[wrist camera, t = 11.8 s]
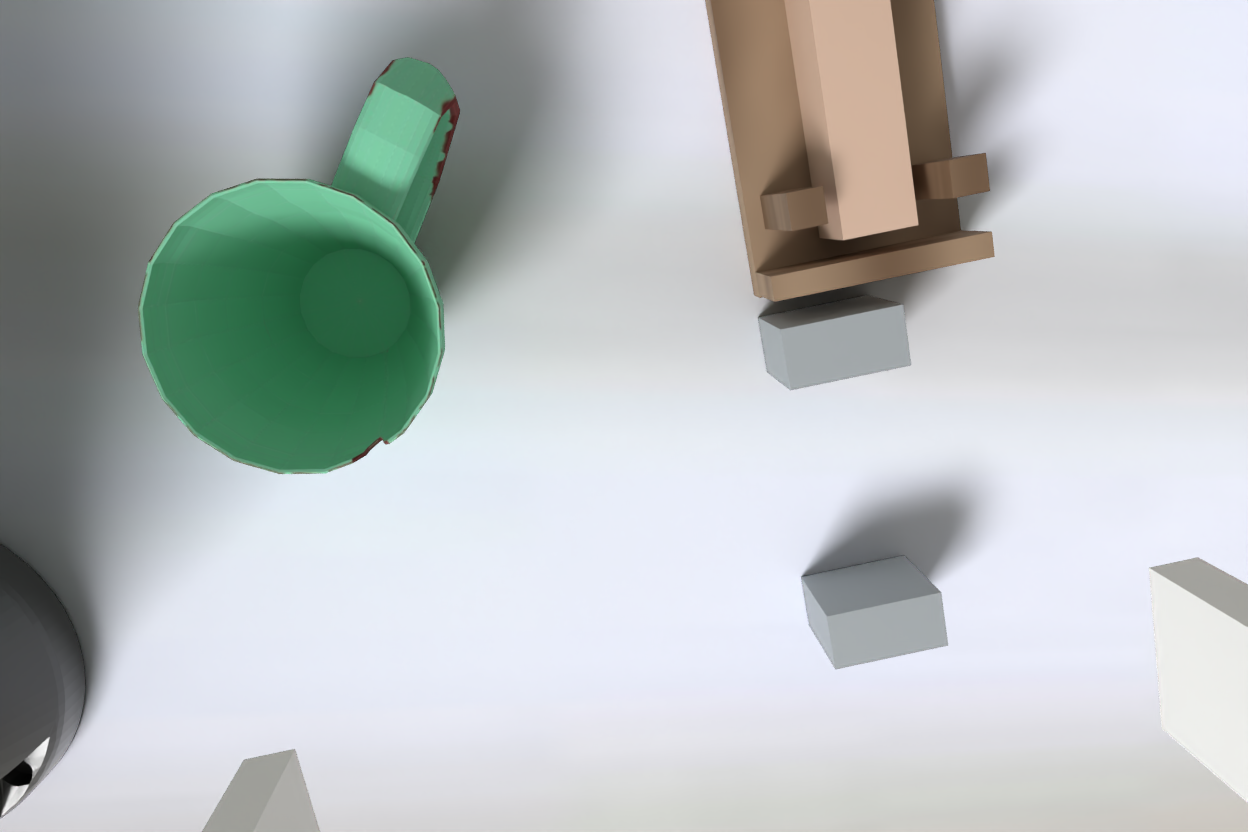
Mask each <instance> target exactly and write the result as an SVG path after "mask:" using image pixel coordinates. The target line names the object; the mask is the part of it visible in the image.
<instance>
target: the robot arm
mask: <svg viewBox="0 0 1248 832" xmlns="http://www.w3.org/2000/svg"><path fill="white" fill-rule="evenodd" d="M1149 575H1150V587H1151V600H1152V612H1153V625H1154V638H1155V650H1156V663H1157V675H1158V688H1159V700H1160V713H1161V726H1162V730H1164V731H1165V732H1166V733H1167V734H1168V735H1169V736H1171V737H1172V738H1173V739H1174V740H1175V741H1176V742H1178V743H1179V744H1180V745H1181V746H1182V747H1183V748H1184V749H1186V750H1187V751H1188V752H1189V753H1190V754H1191V755H1193V756H1194V757H1195V758H1196V759H1197V760H1198V761H1200V762H1201V763H1202V764H1203V765H1204V766H1205V767H1207V768H1208V769H1209V770H1210V771H1211V772H1212V773H1214V774H1215V775H1216V776H1217V777H1218V778H1219V779H1221V780H1222V781H1223V782H1224V783H1225V784H1226V785H1228V786H1229V787H1230V788H1231V789H1232V790H1233V791H1234V792H1236V793H1237V794H1238V795H1239V796H1240V797H1241V798H1243V799H1244V800H1245V801H1246V802H1247V803H1248V584H1246V583H1244V582H1242V581H1240V580H1239V579H1237V578H1235V577H1233V576H1231V575H1229V574H1227V573H1226V572H1224V571H1222V570H1220V569H1218V568H1216V567H1215V566H1213V565H1211V564H1209V563H1207V562H1205V561H1203V560H1202V559H1200V558H1193V559H1188V560H1184V561H1179V562H1174V563H1169V564H1165V565H1160V566H1155V567H1151V568H1149ZM84 697H85V670H84V663H83V657H82V653H81V648H80V645H79V642H78V638H77V636H76V633H75V630H74V628H73V625H72V623H71V621H70V619H69V617H68V615H67V613H66V612H65V610H64V608H63V606H62V605H61V603H60V602H59V600H58V599H57V597H56V596H55V594H54V593H53V592H52V590H51V589H50V588H49V587H48V585H47V584H46V583H45V582H44V581H43V580H42V579H41V577H40V576H39V575H38V574H37V573H36V572H35V571H34V570H33V569H32V568H31V567H30V566H28V565H27V564H26V563H25V562H24V561H23V560H21V559H20V558H19V557H18V556H17V555H15V554H14V553H12V552H11V551H10V550H8V549H7V548H6V547H4V546H2V545H1V544H0V819H1V818H2V817H4V816H5V815H6V814H8V813H9V812H10V811H12V810H13V809H14V808H15V807H17V806H18V805H19V804H20V803H21V802H22V801H23V800H24V799H25V798H26V797H27V796H28V795H29V794H30V793H31V792H32V791H33V790H34V789H35V788H36V787H37V786H38V785H39V784H40V782H41V781H42V780H43V779H44V778H45V777H46V776H47V775H48V774H49V773H50V772H51V770H52V769H53V768H54V767H55V766H56V765H57V764H58V762H59V761H60V759H61V758H62V757H63V755H64V754H65V752H66V751H67V749H68V747H69V746H70V744H71V742H72V740H73V738H74V735H75V733H76V730H77V728H78V725H79V722H80V718H81V715H82V710H83V705H84ZM202 832H320V830H319V827H318V823H317V820H316V817H315V813H314V810H313V807H312V804H311V800H310V797H309V794H308V790H307V787H306V784H305V781H304V777H303V774H302V771H301V768H300V764H299V761H298V758H297V754H296V751H295V749H292V750H288V751H283V752H278V753H274V754H269V755H264V756H259V757H255V758H250V759H245V760H244V761H243V762H242V764H241V766H240V768H239V769H238V771H237V773H236V774H235V776H234V778H233V779H232V781H231V783H230V785H229V786H228V788H227V790H226V791H225V793H224V795H223V797H222V798H221V800H220V802H219V803H218V805H217V807H216V809H215V810H214V812H213V814H212V815H211V817H210V819H209V820H208V822H207V824H206V826H205V827H204V829H203V831H202Z"/></svg>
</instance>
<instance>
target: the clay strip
mask: <svg viewBox="0 0 1248 832" xmlns="http://www.w3.org/2000/svg"><path fill="white" fill-rule="evenodd" d="M784 2H785V9H786V15H787V22H788V29H789V35H790V42H791V49H792V56H793V62H794V69H795V76H796V83H797V89H798V96H799V103H800V109H801V116H802V123H803V130H804V136H805V143H806V150H807V156H808V163H809V170H810V177H811V183H812V187H817V186H823V189H824V196H825V203H826V210H827V217H828V224H825V225H820V226H818V230H819V237H820V238H824V239H835V240H847V239H852V238H857V237H862V236H867V235H872V234H877V233H882V232H887V231H892V230H897V229H901V228H906V227H911V226H916V225H918V217H917V209H916V201H915V193H914V185H913V177H912V169H911V161H910V153H909V145H908V137H907V129H906V121H905V113H904V105H903V97H902V90H901V82H900V74H899V66H898V58H897V50H896V42H895V34H894V26H893V18H892V10H891V2H890V0H784Z"/></svg>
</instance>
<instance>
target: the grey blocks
mask: <svg viewBox="0 0 1248 832" xmlns="http://www.w3.org/2000/svg"><path fill="white" fill-rule="evenodd" d="M758 321H759V327H760V333H761V339H762V345H763V351H764V357H765V363H766V369H767V373H769V374H770V375H771V376H773V377H774V378H775V379H777V380H778V381H779V382H780V383H782V384H783V385H784V386H786V387H787V388H788V389H789V390H794V389H799V388H804V387H809V386H814V385H818V384H823V383H828V382H833V381H838V380H843V379H847V378H852V377H857V376H862V375H867V374H872V373H877V372H881V371H886V370H891V369H896V368H901V367H906V366H910V365H911V359H910V352H909V344H908V337H907V329H906V322H905V314H904V306H903V304H900V303H896V302H892V301H888V300H884V299H881V298H877V297H873V296H869V295H866V296H861V297H856V298H851V299H846V300H841V301H836V302H831V303H827V304H822V305H817V306H812V307H807V308H802V309H797V310H792V311H788V312H783V313H778V314H773V315H768V316H763V317H758ZM801 580H802V586H803V592H804V598H805V604H806V610H807V616H808V622H809V626H810V628H811V629H812V631H813V633H814V634H815V636H816V638H817V639H818V641H819V643H820V644H821V646H822V648H823V649H824V651H825V653H826V654H827V656H828V658H829V659H830V661H831V663H832V664H833V666H834V668H835V669H840V668H844V667H849V666H854V665H858V664H863V663H868V662H873V661H877V660H882V659H887V658H891V657H896V656H901V655H905V654H910V653H915V652H919V651H924V650H929V649H934V648H938V647H943V646H948V640H947V633H946V625H945V617H944V610H943V602H942V595H941V592H940V591H939V590H938V589H937V588H936V587H935V586H934V585H933V584H932V583H931V582H930V581H929V580H928V579H927V578H926V577H925V576H924V575H923V574H922V573H921V572H920V571H919V570H918V569H917V568H916V567H915V566H914V565H913V564H912V563H911V562H910V561H909V560H908V559H907V558H906V557H905V556H904V555H903V556H898V557H894V558H889V559H884V560H879V561H875V562H870V563H865V564H860V565H856V566H851V567H846V568H841V569H837V570H832V571H827V572H822V573H818V574H813V575H808V576H803V577H801Z"/></svg>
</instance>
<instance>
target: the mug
mask: <svg viewBox="0 0 1248 832" xmlns="http://www.w3.org/2000/svg"><path fill="white" fill-rule="evenodd" d="M459 114H460V109H459V106H458V103H457V99H456V96H455V94H454V92H453V90H452V88H451V87H450V85H449V84H448V82H447V80H446V79H445V78H444V76H443V75H442V74H441V73H440V71H439V70H438V69H436V68H435V67H433V66H432V65H430V64H429V63H426V62H422V61H419V60H416V59H413V58H409V57H407V58H401V59H396V60H392V62H391V63H390V64H389V65H388V66H387V68H386V69H385V70H384V71H383V72H382V74H381V75H380V76H379V77H378V78H377V79H376V81H375V82H374V83H373V86H372V88H371V90H370V92H369V95H368V97H367V99H366V101H365V104H364V106H363V108H362V110H361V113H360V115H359V117H358V119H357V122H356V124H355V126H354V129H353V131H352V134H351V137H350V139H349V142H348V144H347V147H346V149H345V152H344V154H343V157H342V159H341V162H340V164H339V167H338V170H337V172H336V175H335V177H334V180H333V182H332V185H331V186H329V185H326V184H323V183H320V182H317V181H314V180H310V179H254V180H251V181H248V182H245V183H242V184H239V185H236V186H233V187H230V188H227V189H224V190H221V191H218V192H215V193H212V194H210V195H209V196H208V197H206V198H205V199H204V200H202V201H201V202H200V203H199V204H197V205H196V206H195V207H193V208H192V209H191V210H189V211H188V212H187V213H186V214H184V215H183V216H182V217H180V218H179V219H178V220H176V221H175V222H174V223H173V224H172V226H171V228H170V229H169V231H168V232H167V234H166V235H165V237H164V238H163V240H162V242H161V243H160V245H159V246H158V248H157V249H156V251H155V253H154V254H153V256H152V257H151V259H150V260H149V262H148V266H147V270H146V274H145V279H144V283H143V287H142V292H141V296H140V300H139V305H138V315H139V325H140V335H141V344H142V354H143V357H144V359H145V362H146V364H147V366H148V368H149V371H150V373H151V375H152V377H153V380H154V382H155V384H156V386H157V389H158V391H159V393H160V396H161V398H162V399H163V401H164V402H165V403H166V404H167V405H168V406H169V408H170V409H171V410H172V411H173V412H174V413H175V414H176V416H177V417H178V418H179V419H180V420H181V421H182V423H183V424H184V425H185V426H186V427H187V428H188V429H189V431H190V432H191V433H192V434H193V435H194V436H196V437H197V438H199V439H200V440H202V441H203V442H205V443H207V444H208V445H210V446H211V447H213V448H214V449H216V450H217V451H219V452H221V453H222V454H224V455H225V456H227V457H228V458H230V459H232V460H233V461H236V462H239V463H243V464H246V465H250V466H253V467H257V468H260V469H264V470H267V471H271V472H274V473H278V474H313V473H328V472H330V471H333V470H336V469H338V468H341V467H344V466H346V465H349V464H352V463H354V462H355V461H357V460H359V459H361V458H362V457H364V456H366V455H367V454H368V452H369V451H370V450H371V449H372V448H373V447H374V446H375V445H377V444H378V443H379V442H380V441H381V440H383V442H384V443H385V444H390V443H391V442H392V441H394V440H395V439H397V438H398V437H399V436H401V435H402V434H403V433H404V432H405V431H406V430H407V428H408V427H409V425H410V424H411V423H412V421H413V420H414V418H415V417H416V416H417V414H418V413H419V411H420V410H421V408H422V407H423V406H424V404H425V403H426V401H427V400H428V398H429V397H430V396H431V394H432V392H433V389H434V385H435V382H436V378H437V375H438V372H439V368H440V365H441V362H442V358H443V355H444V351H445V336H444V308H443V302H442V299H441V297H440V294H439V291H438V288H437V285H436V283H435V280H434V277H433V274H432V272H431V269H430V266H429V263H428V261H427V260H426V258H425V257H424V256H423V255H422V253H421V252H420V251H419V249H418V248H417V247H416V245H415V244H414V243H415V241H416V238H417V236H418V233H419V231H420V228H421V226H422V223H423V221H424V218H425V216H426V213H427V211H428V208H429V206H430V203H431V201H432V198H433V196H434V193H435V191H436V188H437V186H438V183H439V181H440V177H441V174H442V171H443V167H444V164H445V161H446V157H447V154H448V151H449V147H450V144H451V140H452V137H453V134H454V130H455V127H456V124H457V120H458V117H459Z"/></svg>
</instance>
